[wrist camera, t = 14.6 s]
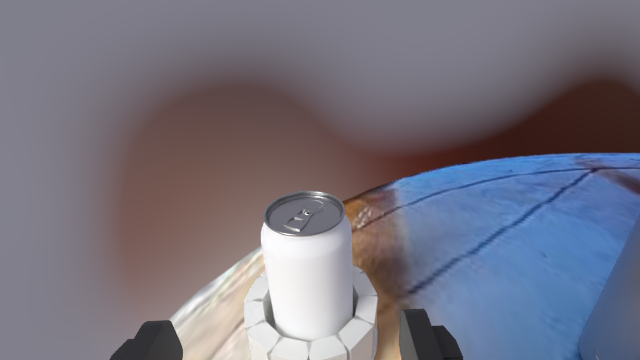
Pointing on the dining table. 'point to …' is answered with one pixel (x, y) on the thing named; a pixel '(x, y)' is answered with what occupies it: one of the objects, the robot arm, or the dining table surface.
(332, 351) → the holder
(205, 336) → the dining table surface
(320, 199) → the can
